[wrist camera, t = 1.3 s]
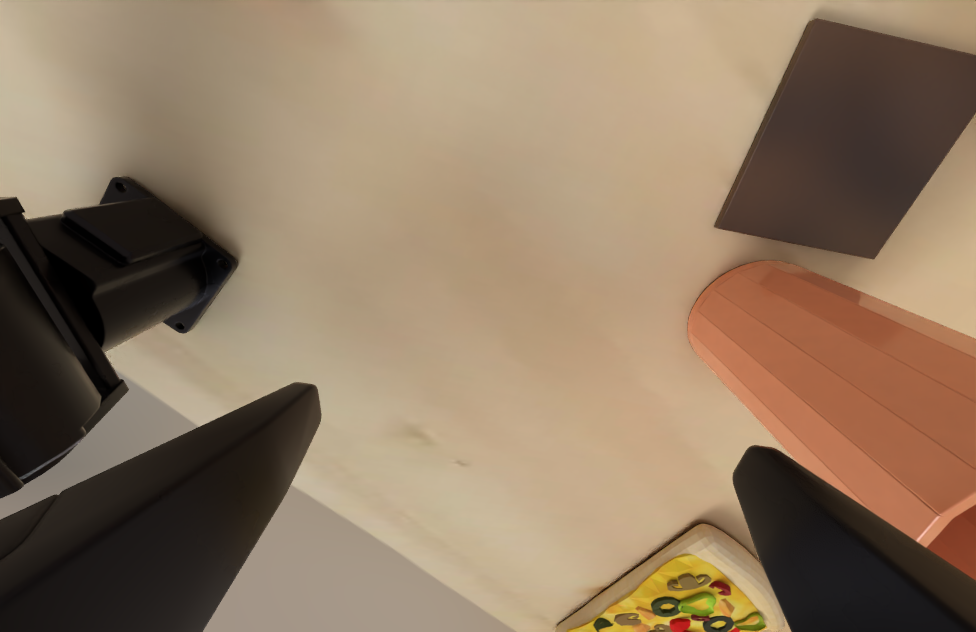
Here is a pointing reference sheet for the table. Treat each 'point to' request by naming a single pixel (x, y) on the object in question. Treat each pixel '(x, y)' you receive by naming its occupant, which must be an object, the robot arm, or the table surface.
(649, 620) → the pizza slice
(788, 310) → the peach cup
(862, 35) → the walnut coaster
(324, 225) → the table surface
